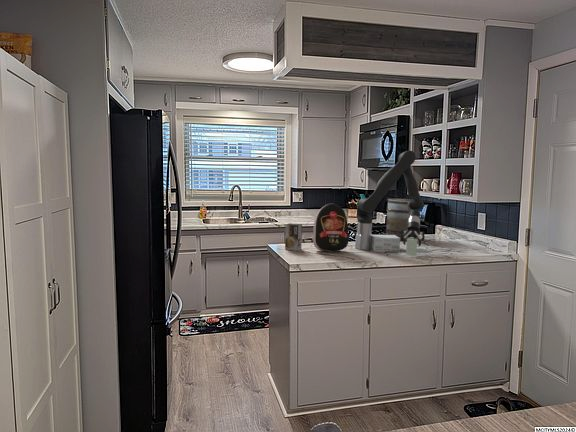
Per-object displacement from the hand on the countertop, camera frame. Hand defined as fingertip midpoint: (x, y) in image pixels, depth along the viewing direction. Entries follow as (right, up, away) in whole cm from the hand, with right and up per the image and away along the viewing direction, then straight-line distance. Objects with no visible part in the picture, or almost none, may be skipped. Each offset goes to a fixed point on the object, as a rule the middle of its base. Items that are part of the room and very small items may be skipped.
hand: (411, 245), depth 263 cm
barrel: (+10, 0, +65) cm, 66 cm away
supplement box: (-13, -5, +17) cm, 22 cm away
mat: (+9, -5, +14) cm, 18 cm away
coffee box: (-73, -3, +8) cm, 74 cm away
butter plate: (0, -6, +2) cm, 7 cm away
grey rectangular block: (0, -6, +2) cm, 6 cm away
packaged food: (-50, -4, +6) cm, 51 cm away
